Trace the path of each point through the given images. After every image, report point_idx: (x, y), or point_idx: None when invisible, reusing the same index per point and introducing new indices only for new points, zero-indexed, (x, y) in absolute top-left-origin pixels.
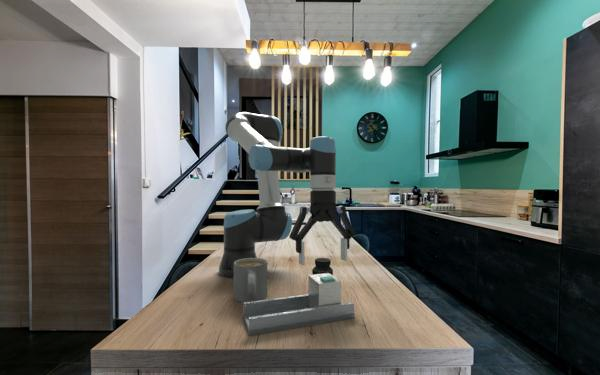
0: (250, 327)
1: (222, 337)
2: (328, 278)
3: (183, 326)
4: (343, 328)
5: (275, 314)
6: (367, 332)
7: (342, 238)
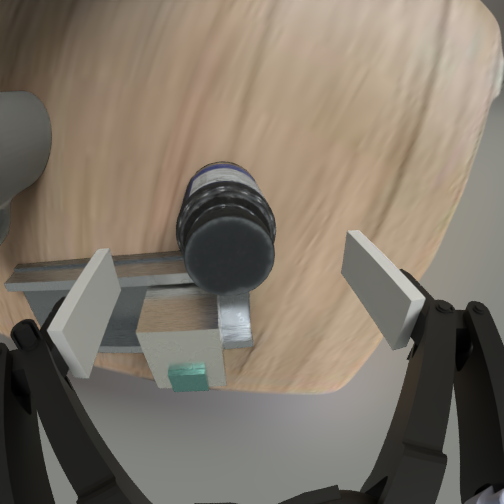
0: None
1: (16, 321)
2: (190, 386)
3: None
4: None
5: None
6: (243, 364)
7: (402, 324)
